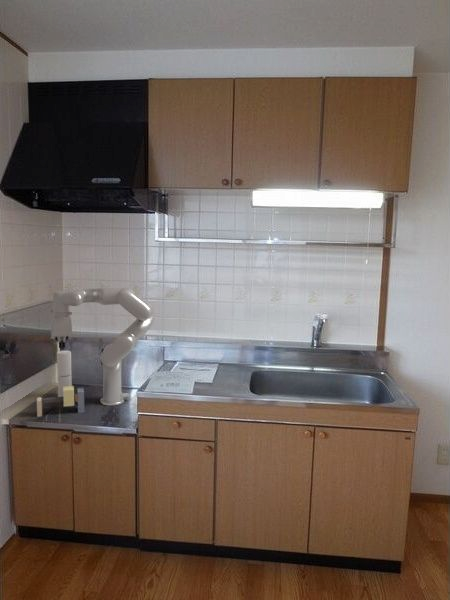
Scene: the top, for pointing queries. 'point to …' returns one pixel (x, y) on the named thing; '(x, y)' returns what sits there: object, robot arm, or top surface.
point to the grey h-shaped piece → (78, 398)
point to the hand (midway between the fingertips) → (62, 348)
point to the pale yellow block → (68, 395)
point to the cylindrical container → (64, 370)
